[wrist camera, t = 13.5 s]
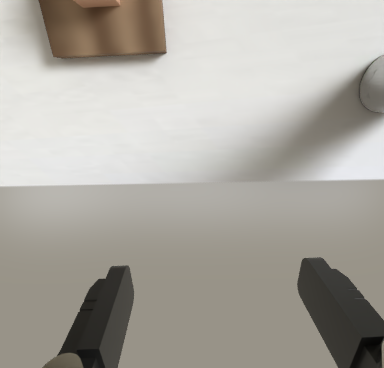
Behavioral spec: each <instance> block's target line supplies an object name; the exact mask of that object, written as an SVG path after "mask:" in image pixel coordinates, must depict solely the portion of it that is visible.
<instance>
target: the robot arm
mask: <svg viewBox="0 0 384 368" xmlns="http://www.w3.org/2000/svg"><path fill="white" fill-rule="evenodd" d="M359 92H360V99H361V102H362V103H363V105H364V106H365V107H366V108H367V109H369V110H371V111H374V112H380V113H384V55H383V56H381V57H379V58H378V59H377V60H375V61H374V62H373V63H372V64H371V65H370V66H369V68H368V69H367V71H366V72H365V74H364V76H363V78H362V81H361V84H360V90H359ZM297 285H298V291H299V295H300V297H301V299H302V301H303V303H304V305H305V306H306V308H307V310H308V312H309V314H310V316H311V318H312V319H313V321H314V323H315V325H316V327H317V329H318V331H319V333H320V334H321V336H322V338H323V340H324V342H325V344H326V346H327V347H328V349H329V351H330V353H331V355H332V357H333V358H334V360H335V362H336V364H337V366H338V368H384V320H383V319H382V318H381V317H380V315H379V314H378V313H377V312H376V311H375V309H374V308H373V307H372V306H371V305H370V303H369V302H368V301H367V300H365V299H364V296H363V295H362V294H361V293H360V291H358V290H357V288H356V287H355V286H354V284H353V283H352V282H351V281H350V280H349V278H348V277H346V276H345V275H343V274H342V273H341V272H339V271H338V270H337V269H331V268H330V267H329V265H328V264H327V263H326V261H325V260H324V259H323V258H320V257H319V258H304V259H303V260H302V263H301V268H300V273H299V278H298V284H297ZM133 299H134V289H133V284H132V278H131V273H130V268H129V266H112V267H111V268H110V270H109V272H108V274H107V277H106V279H98V280H97V281H96V282H95V284H94V285H93V286H92V287H91V288H90V289H89V291H88V293H87V295H86V297H85V300H84V302H83V304H82V306H81V308H80V312H78V314H77V316H76V319H75V321H74V323H73V325H72V327H71V329H70V331H69V333H68V336H67V338H66V340H65V342H64V344H63V346H62V348H61V350H60V352H59V354H58V355H57V356H56V357H54V358H53V359H52V360H50V361H49V362H48V363H46V364H45V365H44V367H43V368H118V363H119V359H120V355H121V351H122V347H123V343H124V339H125V335H126V330H127V326H128V322H129V318H130V314H131V310H132V306H133Z"/></svg>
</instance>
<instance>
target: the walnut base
mask: <svg viewBox="0 0 384 368" xmlns="http://www.w3.org/2000/svg"><path fill="white" fill-rule="evenodd" d="M39 3H40V7H41V11H42V15H43V19H44V22H45V26H46V30H47V34H48V38H49V42H50V46H51V49H52V53H53V57H57V58H81V57H100V56H119V55H138V54H157V53H166V41H165V29H164V16H163V4H162V0H120V5H121V6H107V7H89V8H83V7H81V6H80V5H79V4H77V3H76V2H75V1H73V0H39Z"/></svg>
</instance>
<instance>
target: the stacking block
mask: <svg viewBox="0 0 384 368" xmlns="http://www.w3.org/2000/svg"><path fill="white" fill-rule="evenodd" d="M73 1H75V2H76V3H77V4H79V5H80V6H81V7H83V8H89V7H107V6H121V5H120V0H73Z"/></svg>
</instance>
